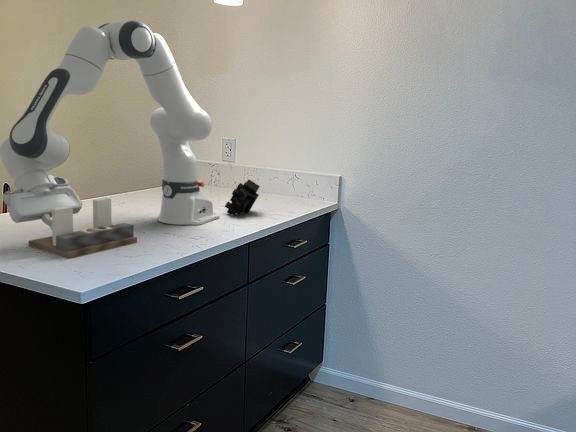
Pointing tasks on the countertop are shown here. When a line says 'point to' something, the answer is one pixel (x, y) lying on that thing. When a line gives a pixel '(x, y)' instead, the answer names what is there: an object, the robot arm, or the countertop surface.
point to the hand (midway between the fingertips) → (58, 228)
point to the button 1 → (62, 222)
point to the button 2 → (101, 212)
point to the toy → (243, 198)
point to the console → (88, 240)
